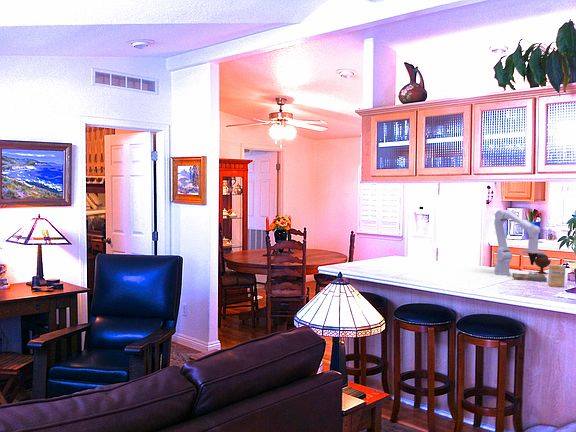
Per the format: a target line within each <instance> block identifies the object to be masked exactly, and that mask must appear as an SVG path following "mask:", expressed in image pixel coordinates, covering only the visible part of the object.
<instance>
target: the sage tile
mask: <svg viewBox="0 0 576 432" xmlns="http://www.w3.org/2000/svg"><path fill="white" fill-rule="evenodd" d="M527 274H528V275H529V276H530V277H536V275H534V274H535V273H533V272H532V271H529V272H528V273H527Z"/></svg>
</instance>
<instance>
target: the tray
mask: <svg viewBox="0 0 576 432" xmlns="http://www.w3.org/2000/svg"><path fill="white" fill-rule="evenodd" d="M533 274H534V275H543V278H541V277H531V281H530V282H542V283H548V281H547V280H548V279H547V277H546V275H545V274H539V273H533Z"/></svg>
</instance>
